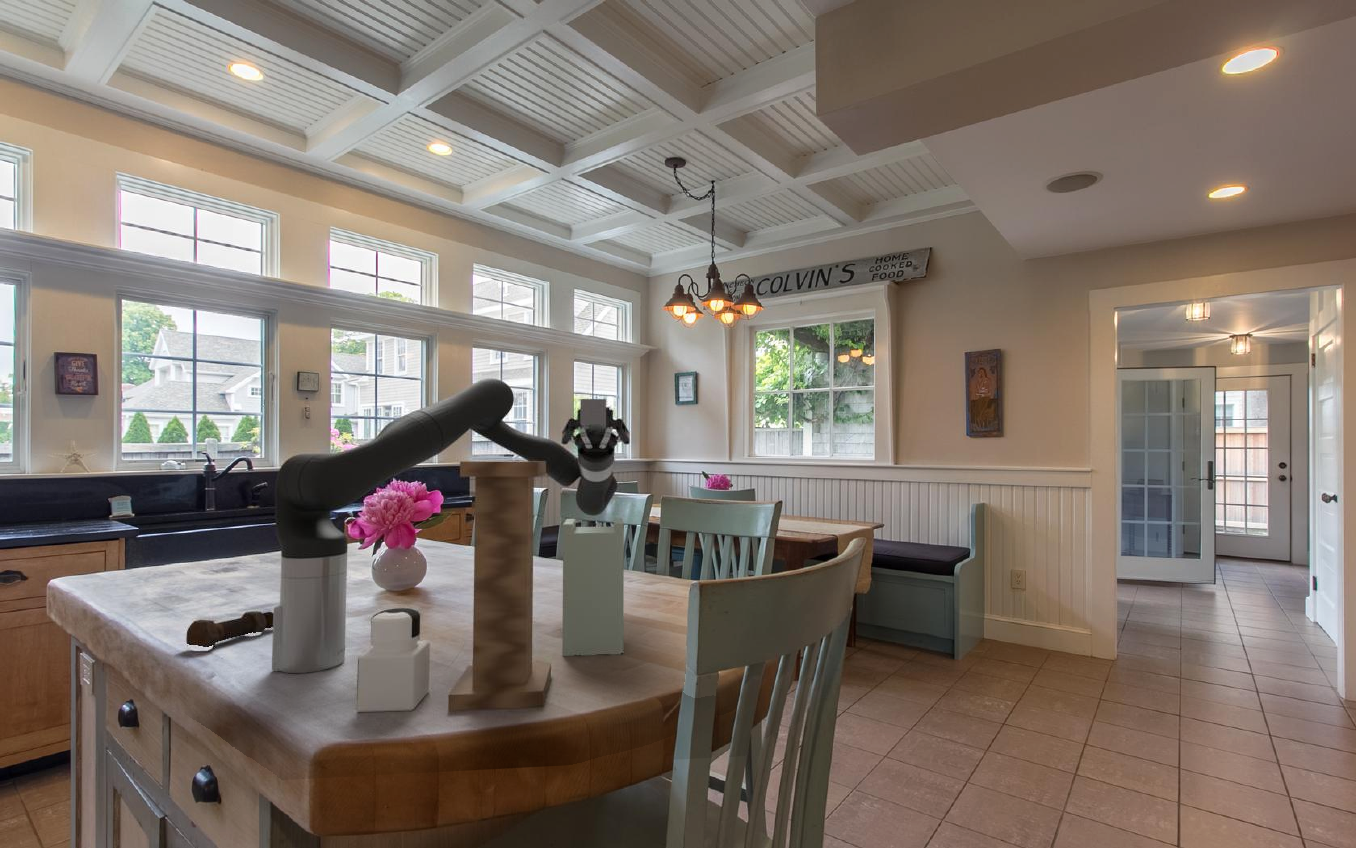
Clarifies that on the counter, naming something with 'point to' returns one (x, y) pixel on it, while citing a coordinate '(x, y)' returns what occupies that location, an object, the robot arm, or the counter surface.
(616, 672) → the counter surface
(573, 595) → the grey tall block
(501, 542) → the tall column
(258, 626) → the bolt
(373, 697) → the medicine bottle
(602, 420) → the brushed steel bar
